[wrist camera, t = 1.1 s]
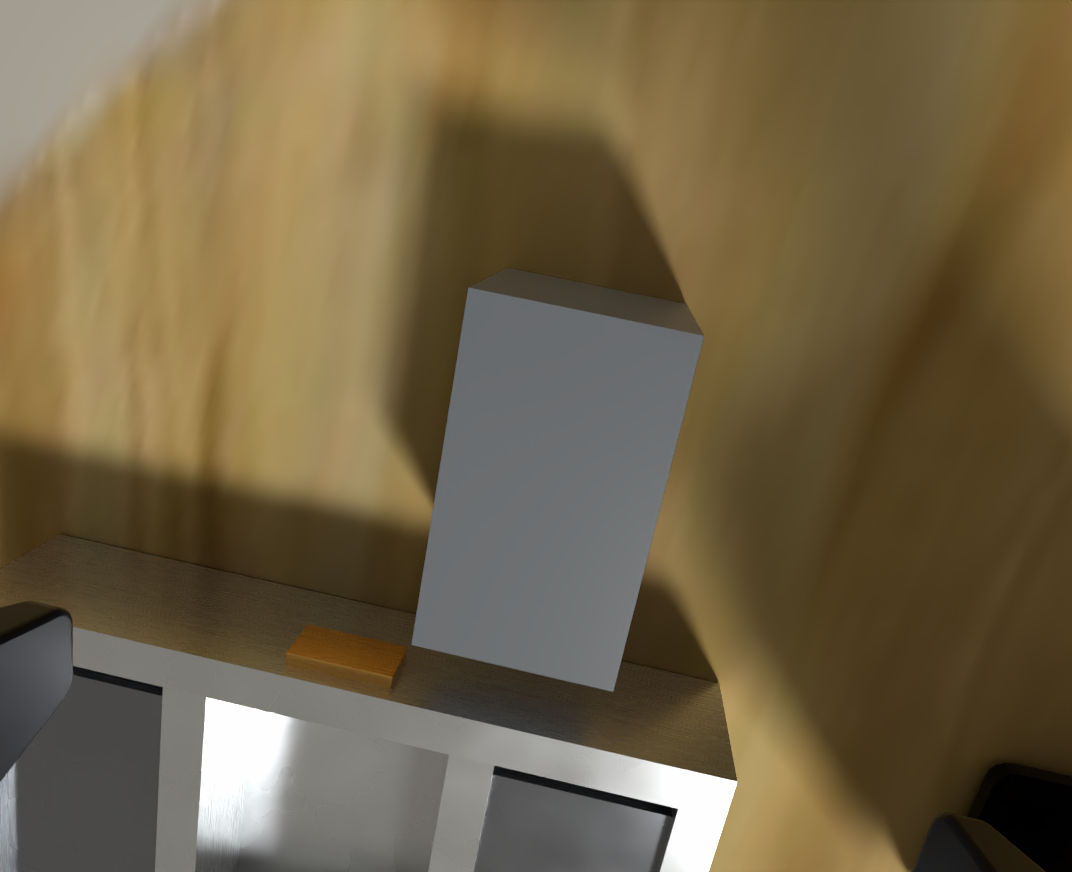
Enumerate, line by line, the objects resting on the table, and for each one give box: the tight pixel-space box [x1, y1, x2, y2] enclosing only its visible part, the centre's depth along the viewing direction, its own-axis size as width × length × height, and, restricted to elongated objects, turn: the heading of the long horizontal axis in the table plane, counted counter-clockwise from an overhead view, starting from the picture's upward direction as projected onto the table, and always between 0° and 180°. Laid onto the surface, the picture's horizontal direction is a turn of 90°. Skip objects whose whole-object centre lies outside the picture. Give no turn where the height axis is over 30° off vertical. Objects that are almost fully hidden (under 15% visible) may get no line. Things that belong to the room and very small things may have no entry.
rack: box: [0, 534, 737, 872], centre depth 20 cm, size 18×11×4 cm, turn 79°
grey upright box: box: [411, 268, 704, 692], centre depth 16 cm, size 4×7×4 cm, turn 169°
